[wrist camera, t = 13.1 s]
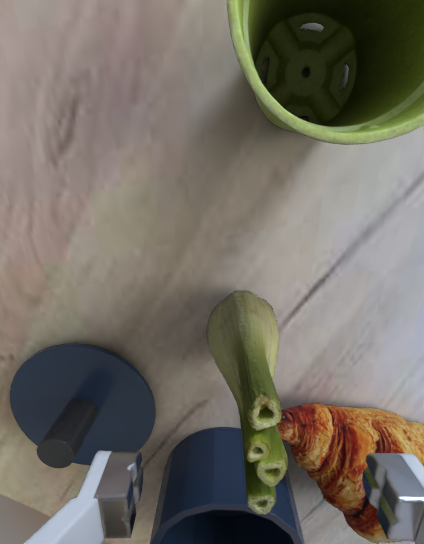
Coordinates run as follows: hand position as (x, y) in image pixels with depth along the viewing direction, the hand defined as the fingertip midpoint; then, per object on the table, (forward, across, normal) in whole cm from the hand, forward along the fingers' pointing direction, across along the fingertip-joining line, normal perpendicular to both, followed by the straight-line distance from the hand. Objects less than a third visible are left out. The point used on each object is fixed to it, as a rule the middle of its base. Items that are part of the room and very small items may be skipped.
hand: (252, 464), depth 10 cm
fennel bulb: (+12, -1, 0) cm, 12 cm away
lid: (+12, +12, +8) cm, 19 cm away
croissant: (+12, -13, +13) cm, 21 cm away
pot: (+12, 0, +16) cm, 20 cm away
